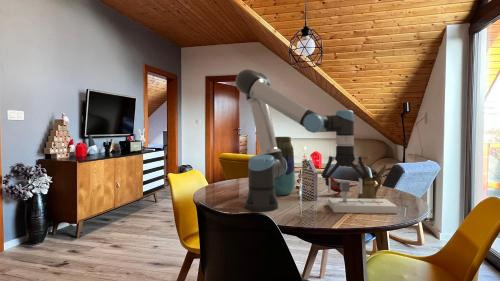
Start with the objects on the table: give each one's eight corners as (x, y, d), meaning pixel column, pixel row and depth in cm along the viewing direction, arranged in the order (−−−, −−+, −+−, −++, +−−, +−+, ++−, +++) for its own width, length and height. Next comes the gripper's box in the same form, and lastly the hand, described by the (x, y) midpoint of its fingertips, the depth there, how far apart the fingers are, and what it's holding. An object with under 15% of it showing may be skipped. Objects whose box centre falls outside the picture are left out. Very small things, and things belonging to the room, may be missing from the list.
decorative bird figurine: (324, 193, 175) (324, 175, 174) (358, 195, 168) (358, 177, 168) (323, 194, 172) (323, 176, 171) (357, 196, 165) (358, 177, 165)
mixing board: (333, 212, 135) (333, 205, 135) (328, 204, 149) (328, 198, 149) (397, 213, 133) (397, 205, 133) (385, 205, 147) (385, 198, 147)
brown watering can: (388, 202, 152) (388, 165, 151) (358, 201, 155) (358, 164, 155) (384, 198, 161) (385, 163, 160) (356, 197, 164) (356, 162, 163)
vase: (266, 195, 170) (266, 137, 169) (272, 190, 183) (272, 136, 182) (292, 197, 166) (292, 137, 165) (296, 192, 179) (296, 136, 178)
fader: (342, 202, 139) (342, 182, 139) (340, 199, 144) (340, 180, 144) (349, 202, 139) (349, 182, 138) (346, 199, 144) (346, 180, 143)
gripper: (317, 145, 138) (317, 194, 138) (376, 145, 136) (376, 195, 136) (315, 145, 145) (315, 191, 146) (371, 144, 143) (371, 191, 144)
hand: (344, 193), depth 141 cm, fingers open, 13 cm apart
